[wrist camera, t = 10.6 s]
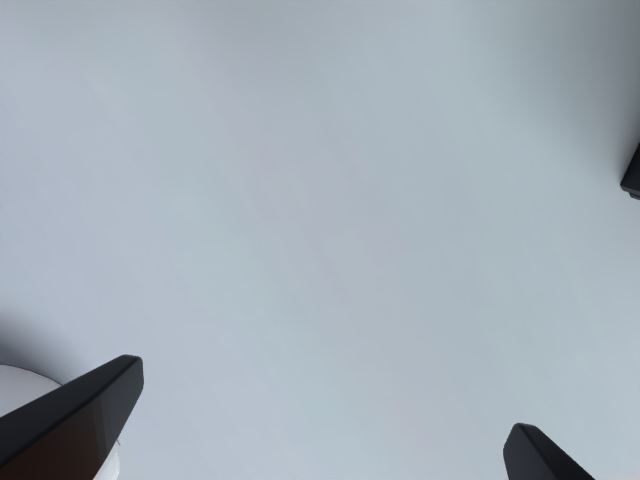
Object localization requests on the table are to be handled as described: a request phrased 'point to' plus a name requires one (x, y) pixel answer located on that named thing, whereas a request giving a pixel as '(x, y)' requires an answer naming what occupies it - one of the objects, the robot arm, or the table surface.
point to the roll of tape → (25, 386)
